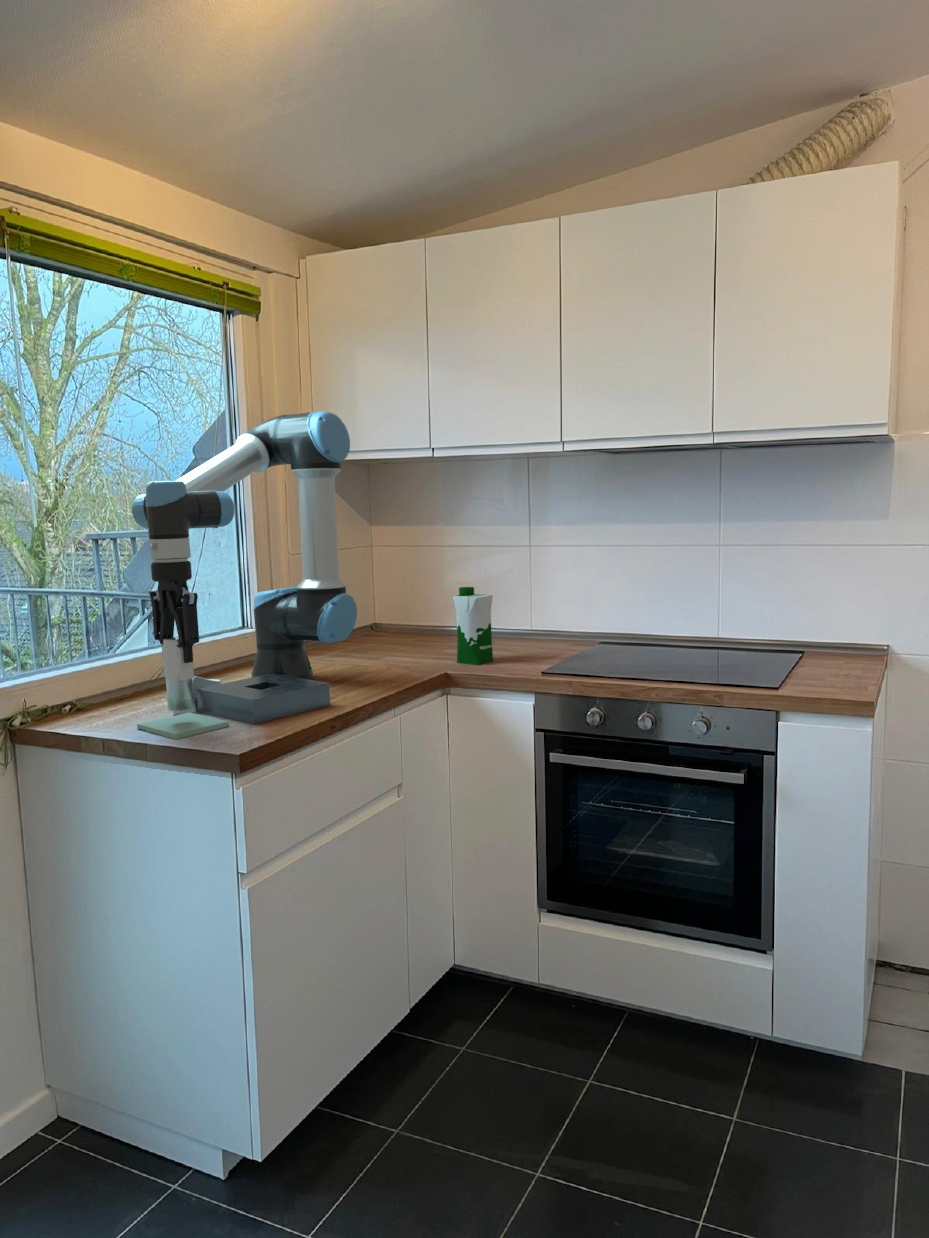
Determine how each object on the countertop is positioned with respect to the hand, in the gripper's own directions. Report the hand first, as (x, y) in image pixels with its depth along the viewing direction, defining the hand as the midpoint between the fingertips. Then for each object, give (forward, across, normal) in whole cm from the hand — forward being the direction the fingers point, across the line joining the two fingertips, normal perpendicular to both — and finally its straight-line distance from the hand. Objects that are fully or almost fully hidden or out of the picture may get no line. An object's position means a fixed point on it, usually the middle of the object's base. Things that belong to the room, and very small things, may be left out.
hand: (179, 677), depth 184 cm
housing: (+10, 0, +20) cm, 23 cm away
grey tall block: (+6, 0, 0) cm, 6 cm away
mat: (+10, 0, 0) cm, 10 cm away
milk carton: (+10, +3, +87) cm, 88 cm away
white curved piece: (+11, -19, +14) cm, 26 cm away
